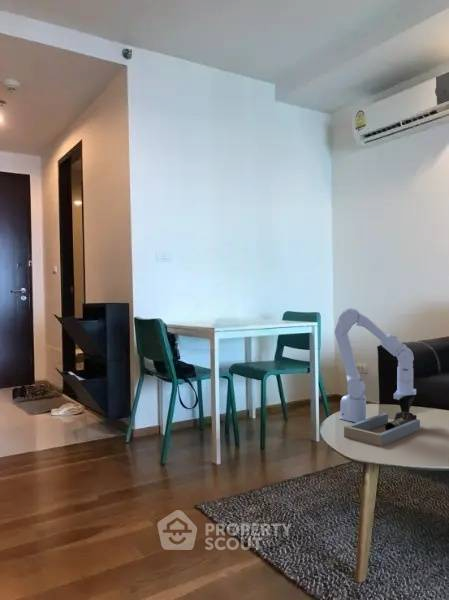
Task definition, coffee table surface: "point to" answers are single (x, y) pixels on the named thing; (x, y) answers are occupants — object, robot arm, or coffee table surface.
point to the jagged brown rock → (400, 420)
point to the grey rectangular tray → (361, 433)
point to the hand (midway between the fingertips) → (405, 415)
